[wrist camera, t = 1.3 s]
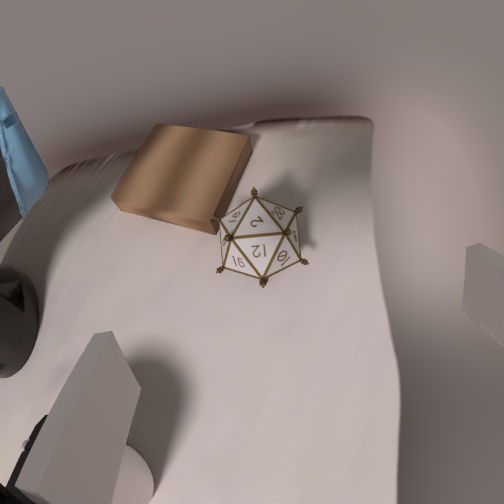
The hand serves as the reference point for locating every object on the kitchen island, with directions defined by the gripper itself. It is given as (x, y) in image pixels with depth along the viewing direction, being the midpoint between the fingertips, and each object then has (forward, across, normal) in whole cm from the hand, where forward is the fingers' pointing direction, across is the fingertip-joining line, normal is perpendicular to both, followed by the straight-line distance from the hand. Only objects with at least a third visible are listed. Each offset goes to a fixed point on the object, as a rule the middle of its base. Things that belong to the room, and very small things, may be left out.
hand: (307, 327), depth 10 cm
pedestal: (+30, -7, +3) cm, 31 cm away
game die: (+22, 0, -6) cm, 23 cm away
